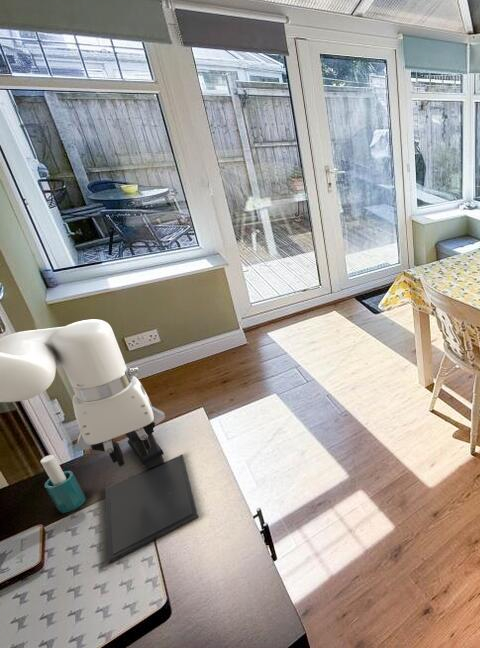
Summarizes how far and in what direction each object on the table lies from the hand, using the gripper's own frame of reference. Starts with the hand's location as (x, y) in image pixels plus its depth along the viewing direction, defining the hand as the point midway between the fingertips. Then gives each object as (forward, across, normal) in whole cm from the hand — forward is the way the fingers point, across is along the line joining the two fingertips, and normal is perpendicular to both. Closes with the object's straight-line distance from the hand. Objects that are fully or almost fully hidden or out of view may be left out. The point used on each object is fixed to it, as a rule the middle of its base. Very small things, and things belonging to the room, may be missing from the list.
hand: (133, 456), depth 83 cm
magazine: (+9, -1, -10) cm, 13 cm away
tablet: (+8, 0, +6) cm, 10 cm away
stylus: (+8, +11, -4) cm, 14 cm away
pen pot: (+9, +11, -4) cm, 14 cm away
